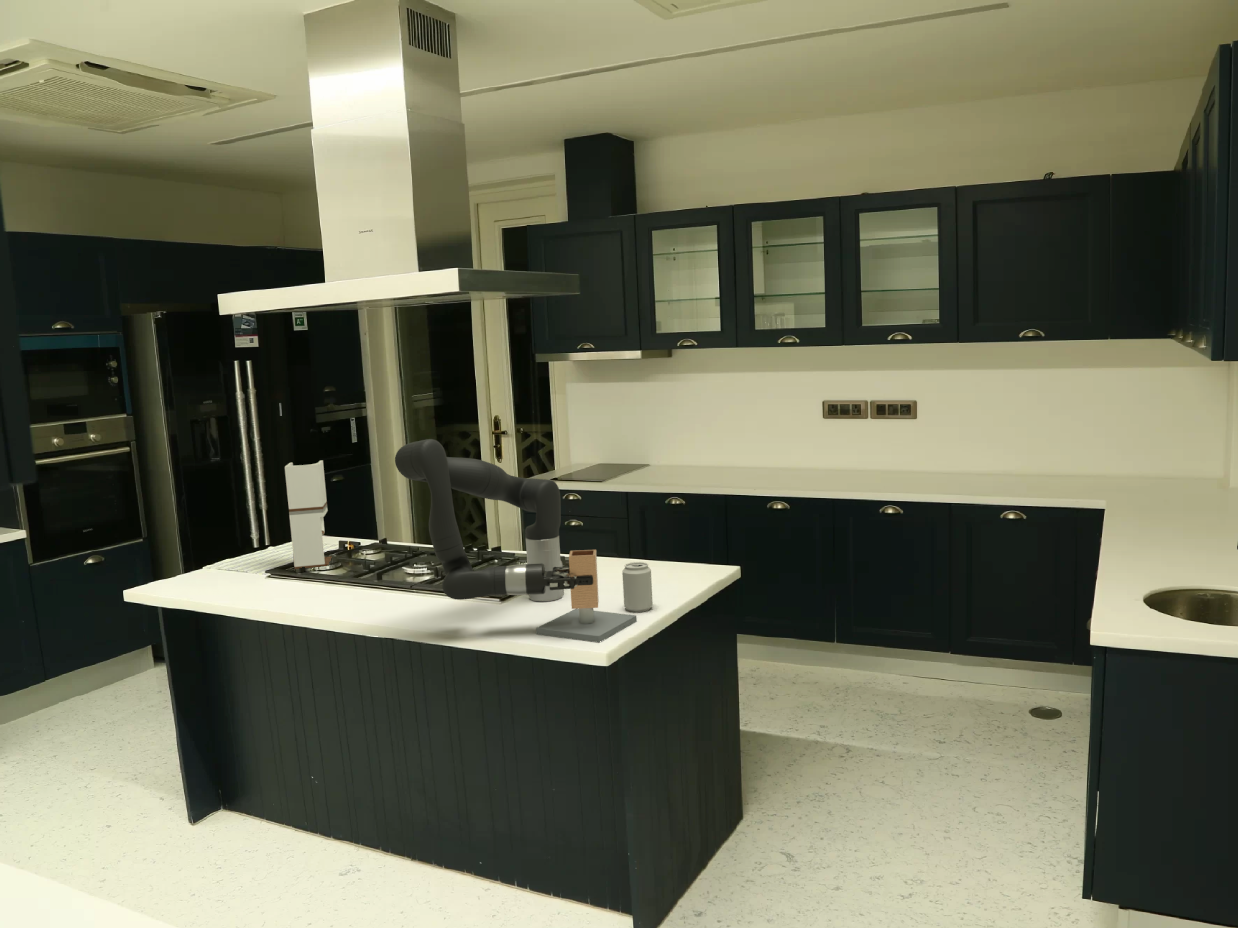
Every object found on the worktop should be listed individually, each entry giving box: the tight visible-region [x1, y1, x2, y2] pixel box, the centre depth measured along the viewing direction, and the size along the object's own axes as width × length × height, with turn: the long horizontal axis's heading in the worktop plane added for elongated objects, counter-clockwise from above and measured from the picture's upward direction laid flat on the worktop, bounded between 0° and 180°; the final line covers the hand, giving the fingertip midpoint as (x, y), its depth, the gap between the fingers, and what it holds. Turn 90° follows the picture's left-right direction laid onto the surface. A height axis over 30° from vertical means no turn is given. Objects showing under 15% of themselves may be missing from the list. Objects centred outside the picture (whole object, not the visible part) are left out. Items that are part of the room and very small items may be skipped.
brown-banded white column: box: [284, 460, 333, 570], centre depth 322 cm, size 11×11×35 cm
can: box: [621, 561, 654, 613], centre depth 254 cm, size 8×8×12 cm
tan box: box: [568, 549, 600, 610], centre depth 239 cm, size 6×6×13 cm
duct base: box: [535, 608, 637, 643], centre depth 240 cm, size 18×18×6 cm
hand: (593, 576), depth 239 cm, fingers closed on tan box, 6 cm apart
